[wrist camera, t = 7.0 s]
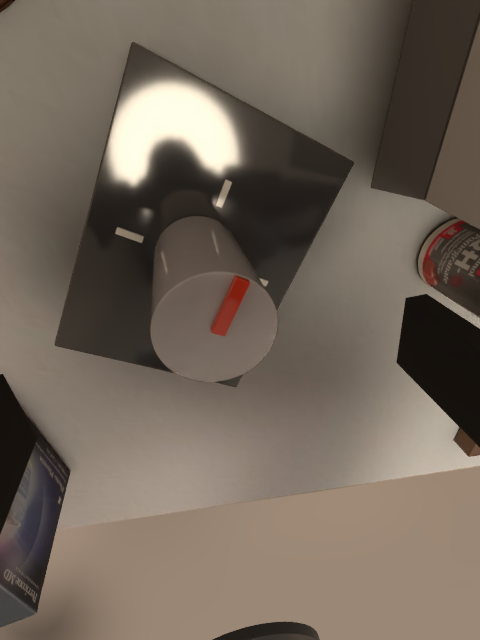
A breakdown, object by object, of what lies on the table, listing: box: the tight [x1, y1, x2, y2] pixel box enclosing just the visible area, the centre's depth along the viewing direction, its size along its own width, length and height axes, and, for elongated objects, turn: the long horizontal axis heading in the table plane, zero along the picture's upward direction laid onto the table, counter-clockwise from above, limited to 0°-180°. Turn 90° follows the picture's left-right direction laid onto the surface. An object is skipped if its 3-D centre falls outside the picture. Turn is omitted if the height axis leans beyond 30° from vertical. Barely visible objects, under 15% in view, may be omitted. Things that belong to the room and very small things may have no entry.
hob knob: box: [150, 216, 278, 382], centre depth 17 cm, size 5×5×8 cm
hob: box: [55, 42, 354, 387], centre depth 22 cm, size 16×12×3 cm
